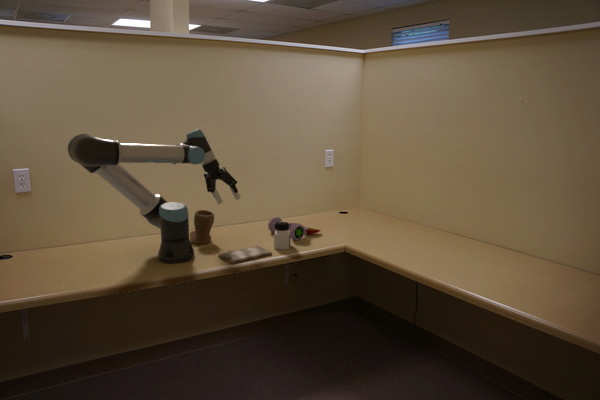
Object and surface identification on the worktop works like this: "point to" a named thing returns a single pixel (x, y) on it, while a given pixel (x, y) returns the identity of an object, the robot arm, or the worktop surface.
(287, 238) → the medicine bottle
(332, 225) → the worktop surface
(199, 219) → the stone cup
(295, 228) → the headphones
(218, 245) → the worktop surface
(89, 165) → the robot arm
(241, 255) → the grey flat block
